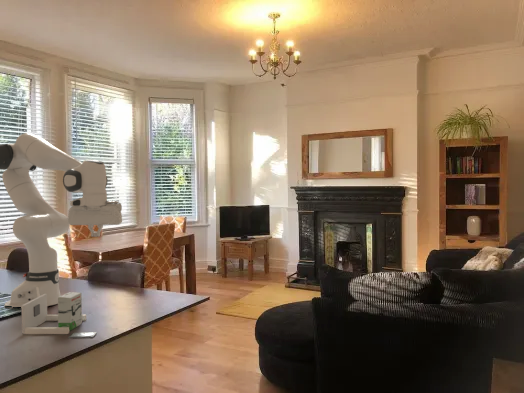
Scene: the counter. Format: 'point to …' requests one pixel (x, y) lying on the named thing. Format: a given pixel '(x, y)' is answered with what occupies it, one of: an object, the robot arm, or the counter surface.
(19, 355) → the counter surface
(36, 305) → the dock
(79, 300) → the ink box
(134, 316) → the counter surface
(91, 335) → the picture frame
